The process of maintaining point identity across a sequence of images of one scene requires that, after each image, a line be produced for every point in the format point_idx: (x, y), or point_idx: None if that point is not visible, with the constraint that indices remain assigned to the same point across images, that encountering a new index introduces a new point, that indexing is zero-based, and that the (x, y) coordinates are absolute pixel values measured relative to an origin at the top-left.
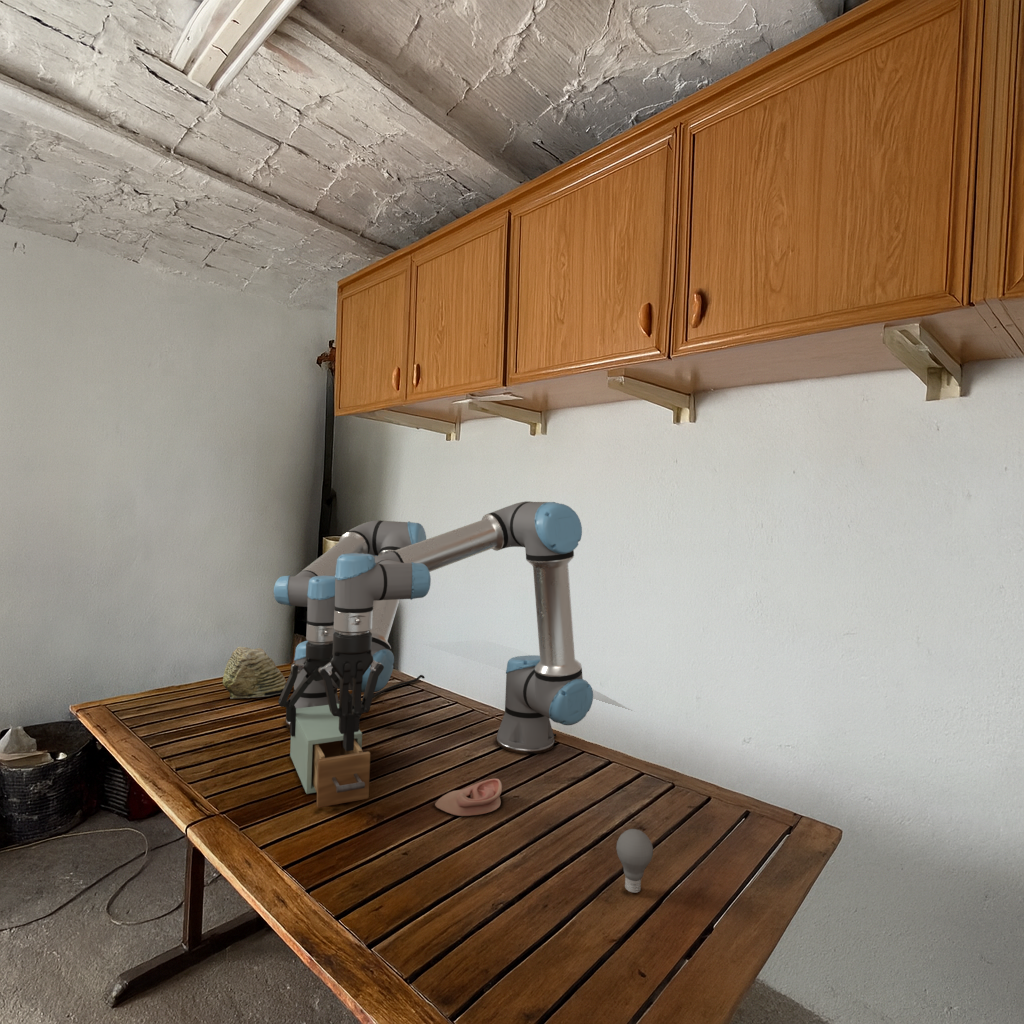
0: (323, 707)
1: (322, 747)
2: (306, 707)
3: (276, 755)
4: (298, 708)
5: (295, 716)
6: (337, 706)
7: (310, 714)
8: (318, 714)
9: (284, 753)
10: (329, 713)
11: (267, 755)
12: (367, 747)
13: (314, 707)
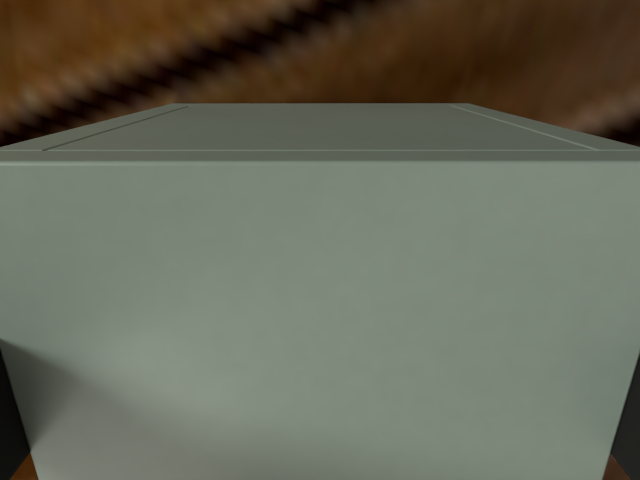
0: (405, 259)
1: None
2: (166, 173)
3: (89, 59)
4: (44, 174)
5: (23, 455)
6: (599, 281)
7: (198, 440)
8: (286, 467)
9: (138, 44)
10: (411, 475)
11: (33, 36)
12: (636, 144)
13: (283, 211)
